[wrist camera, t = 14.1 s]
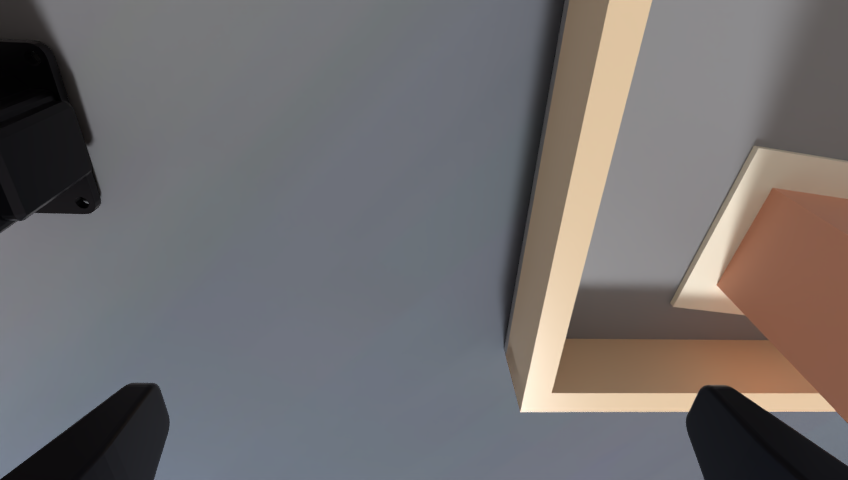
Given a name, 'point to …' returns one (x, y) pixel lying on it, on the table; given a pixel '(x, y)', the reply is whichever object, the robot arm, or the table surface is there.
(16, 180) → the robot arm
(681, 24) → the two-wall tray
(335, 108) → the table surface
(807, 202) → the terracotta block
